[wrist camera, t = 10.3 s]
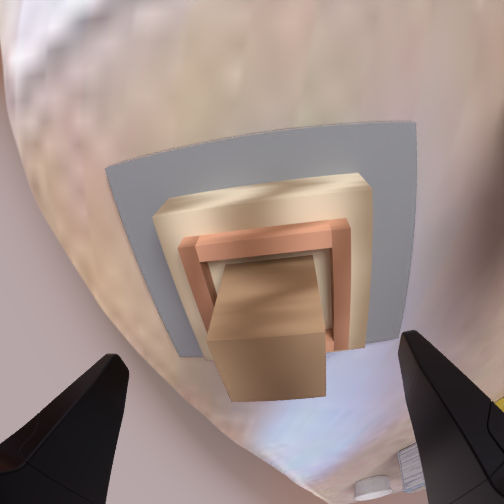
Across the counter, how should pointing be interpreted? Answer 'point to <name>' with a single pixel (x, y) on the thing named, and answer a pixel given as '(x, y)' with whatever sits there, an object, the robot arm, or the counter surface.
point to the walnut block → (269, 331)
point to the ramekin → (372, 488)
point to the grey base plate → (271, 170)
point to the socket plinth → (275, 245)
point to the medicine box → (411, 469)
